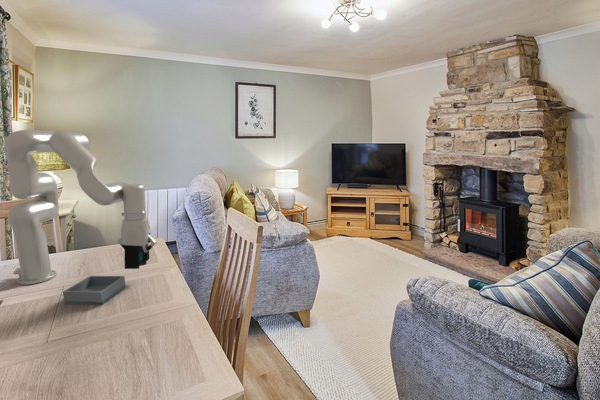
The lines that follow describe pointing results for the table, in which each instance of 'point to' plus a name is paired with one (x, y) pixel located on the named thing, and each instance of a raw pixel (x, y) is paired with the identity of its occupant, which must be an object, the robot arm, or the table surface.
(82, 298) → the open box
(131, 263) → the speaker
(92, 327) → the table surface
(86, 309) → the table surface
